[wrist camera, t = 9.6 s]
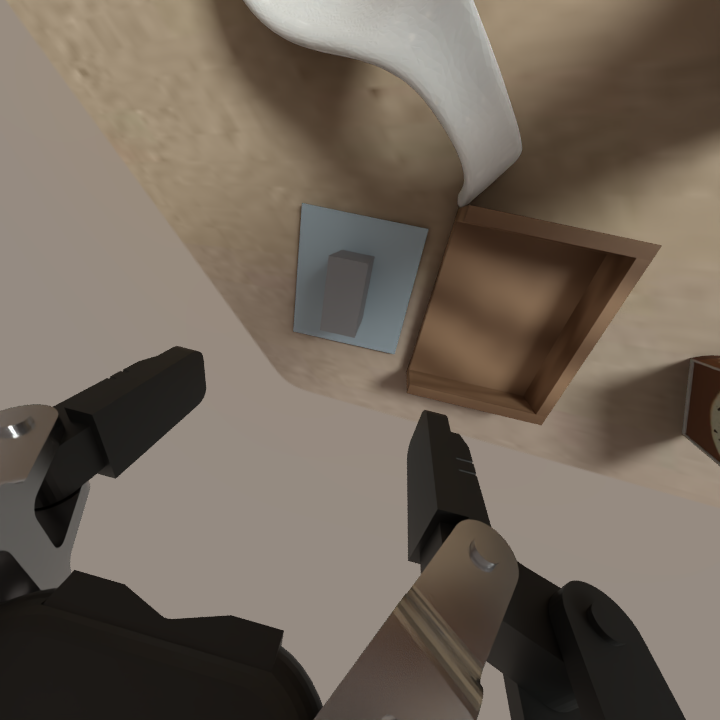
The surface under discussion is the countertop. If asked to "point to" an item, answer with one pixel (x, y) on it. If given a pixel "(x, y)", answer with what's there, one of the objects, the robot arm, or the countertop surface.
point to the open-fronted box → (519, 311)
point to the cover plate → (384, 277)
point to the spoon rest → (419, 66)
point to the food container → (703, 406)
